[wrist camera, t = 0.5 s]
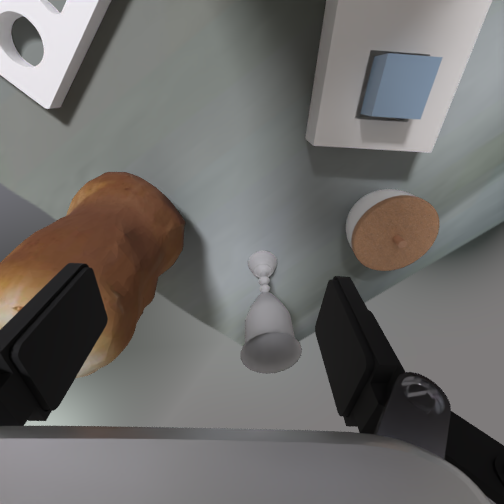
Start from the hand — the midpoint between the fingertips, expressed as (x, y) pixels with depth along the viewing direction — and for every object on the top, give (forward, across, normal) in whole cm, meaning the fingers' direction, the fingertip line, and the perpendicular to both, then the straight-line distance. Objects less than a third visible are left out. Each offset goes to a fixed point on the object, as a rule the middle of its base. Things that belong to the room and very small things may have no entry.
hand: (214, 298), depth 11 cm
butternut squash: (+29, +13, +9) cm, 33 cm away
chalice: (+29, -5, +18) cm, 34 cm away
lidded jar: (+29, -21, +7) cm, 37 cm away
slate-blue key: (+24, -16, -9) cm, 30 cm away
